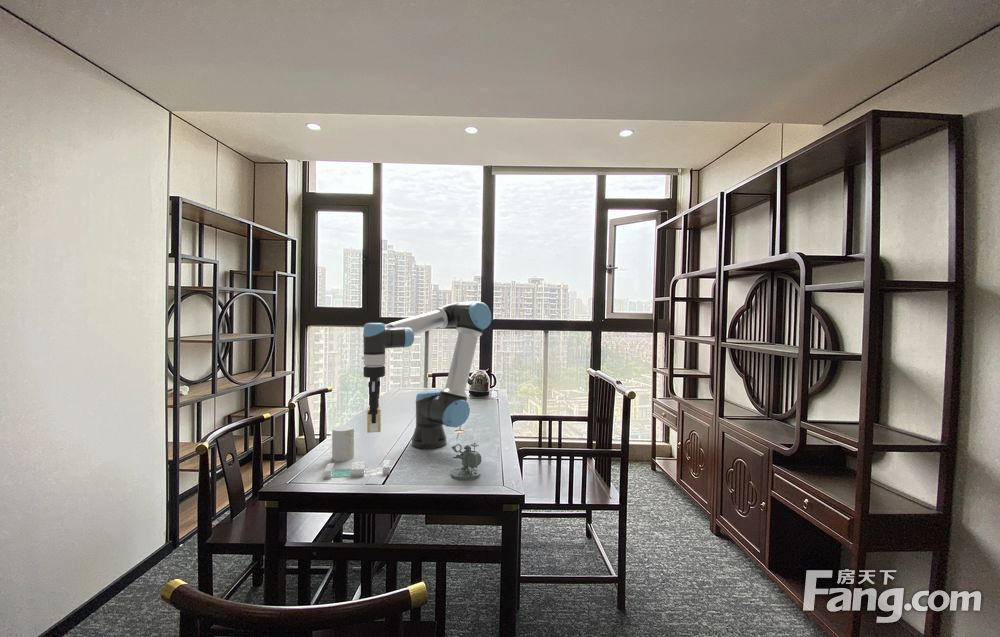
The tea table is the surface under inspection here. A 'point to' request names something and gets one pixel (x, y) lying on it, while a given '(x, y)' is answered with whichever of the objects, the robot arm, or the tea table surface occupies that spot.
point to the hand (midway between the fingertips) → (374, 429)
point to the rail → (356, 470)
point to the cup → (342, 443)
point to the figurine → (467, 463)
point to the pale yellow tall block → (378, 419)
